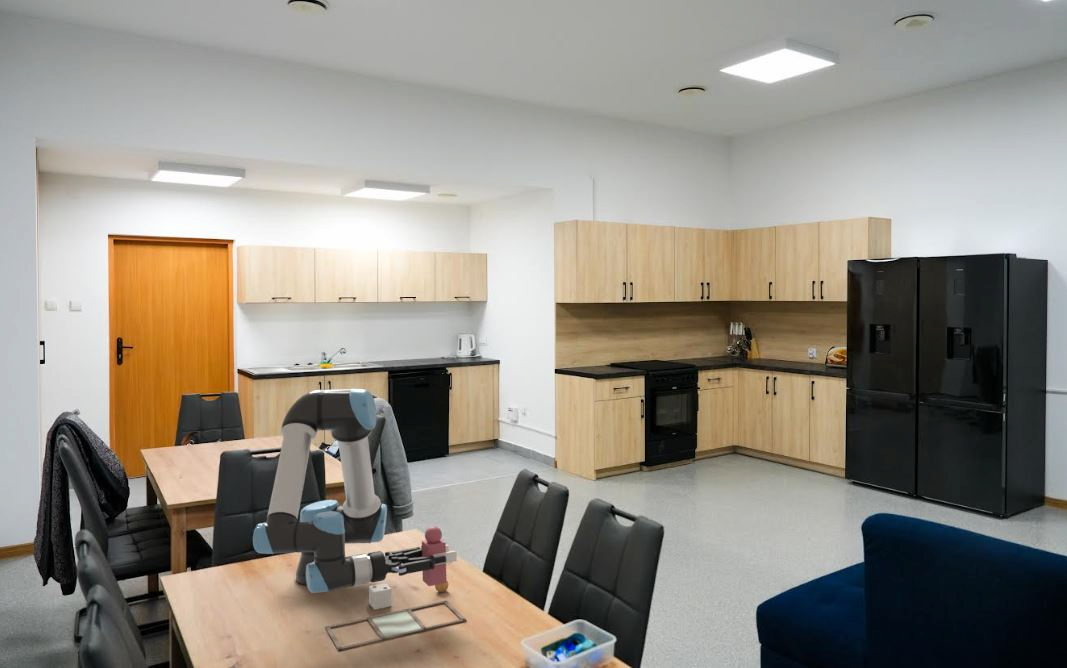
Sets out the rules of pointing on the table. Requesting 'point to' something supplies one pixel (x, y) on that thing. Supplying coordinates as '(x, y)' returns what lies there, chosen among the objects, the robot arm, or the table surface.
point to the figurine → (442, 587)
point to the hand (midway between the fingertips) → (452, 552)
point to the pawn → (431, 547)
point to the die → (380, 596)
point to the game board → (394, 624)
